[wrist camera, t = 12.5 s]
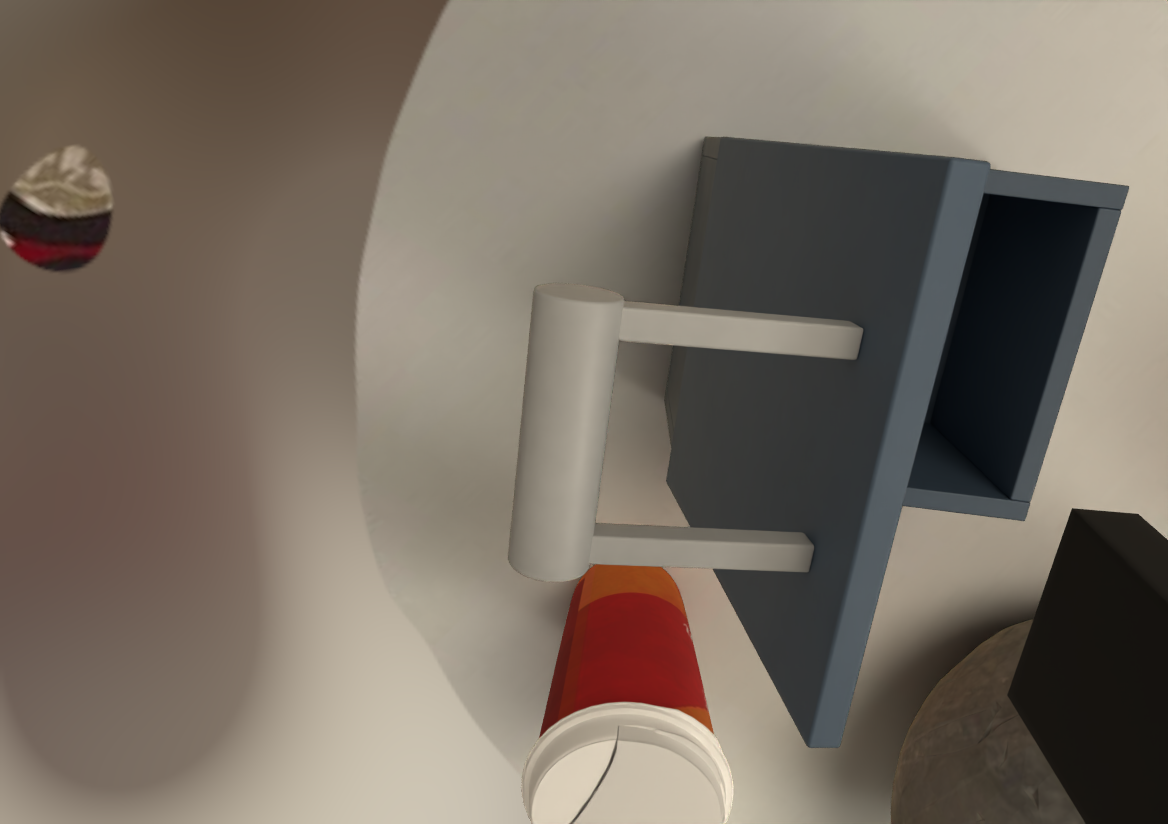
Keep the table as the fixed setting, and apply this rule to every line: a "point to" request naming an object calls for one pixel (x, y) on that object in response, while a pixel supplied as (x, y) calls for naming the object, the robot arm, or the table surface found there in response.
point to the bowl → (977, 750)
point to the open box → (987, 336)
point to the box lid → (766, 400)
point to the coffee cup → (627, 713)
